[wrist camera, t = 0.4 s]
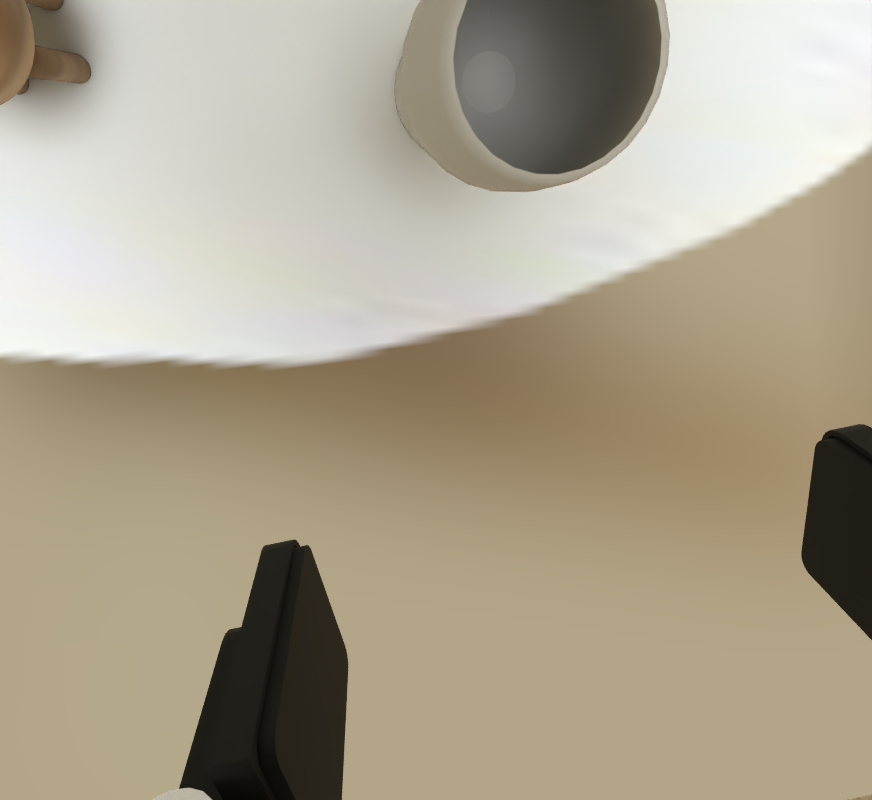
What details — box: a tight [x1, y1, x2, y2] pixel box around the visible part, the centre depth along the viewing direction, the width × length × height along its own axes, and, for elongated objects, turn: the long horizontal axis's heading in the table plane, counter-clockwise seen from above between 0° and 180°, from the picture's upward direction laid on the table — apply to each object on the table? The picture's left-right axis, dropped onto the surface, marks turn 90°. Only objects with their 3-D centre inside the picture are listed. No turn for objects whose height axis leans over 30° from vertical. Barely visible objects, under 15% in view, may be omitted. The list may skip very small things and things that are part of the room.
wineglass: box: [395, 0, 670, 192], centre depth 25 cm, size 8×8×21 cm
